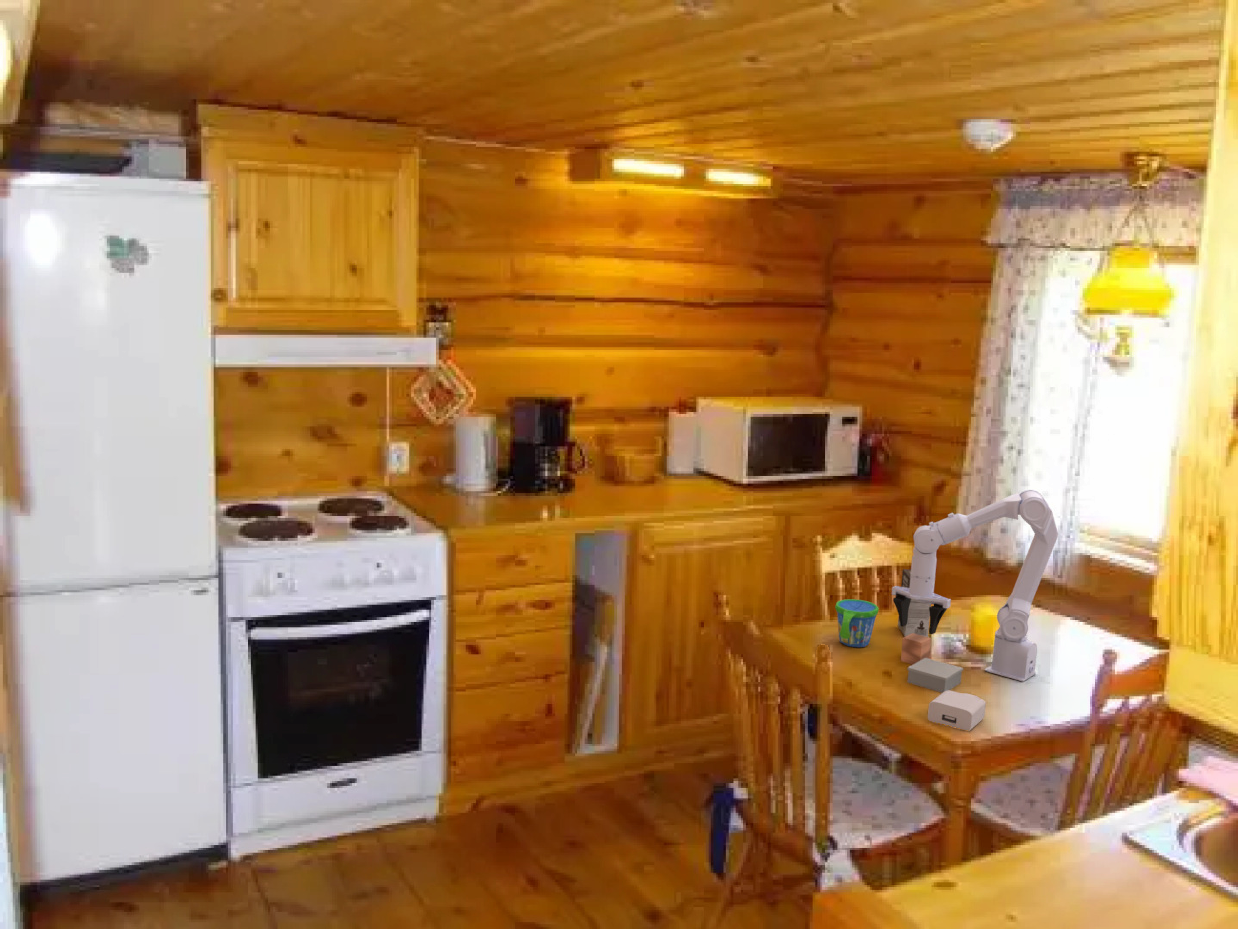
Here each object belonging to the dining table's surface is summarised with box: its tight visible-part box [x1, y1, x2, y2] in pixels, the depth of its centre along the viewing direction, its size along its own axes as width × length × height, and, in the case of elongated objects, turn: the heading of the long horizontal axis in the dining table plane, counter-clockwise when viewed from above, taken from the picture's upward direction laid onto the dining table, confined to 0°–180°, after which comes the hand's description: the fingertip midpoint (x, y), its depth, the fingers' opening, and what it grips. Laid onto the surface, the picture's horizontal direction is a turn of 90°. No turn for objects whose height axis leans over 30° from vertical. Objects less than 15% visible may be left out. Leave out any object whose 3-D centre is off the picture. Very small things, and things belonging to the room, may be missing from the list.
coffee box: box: [897, 568, 932, 638], centre depth 293 cm, size 9×6×16 cm
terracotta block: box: [900, 633, 932, 665], centre depth 272 cm, size 5×5×6 cm
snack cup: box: [834, 598, 880, 648], centre depth 283 cm, size 16×10×10 cm
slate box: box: [907, 658, 964, 694], centre depth 258 cm, size 9×9×4 cm
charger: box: [927, 689, 987, 732], centre depth 239 cm, size 5×9×15 cm
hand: (917, 629), depth 271 cm, fingers open, 7 cm apart
